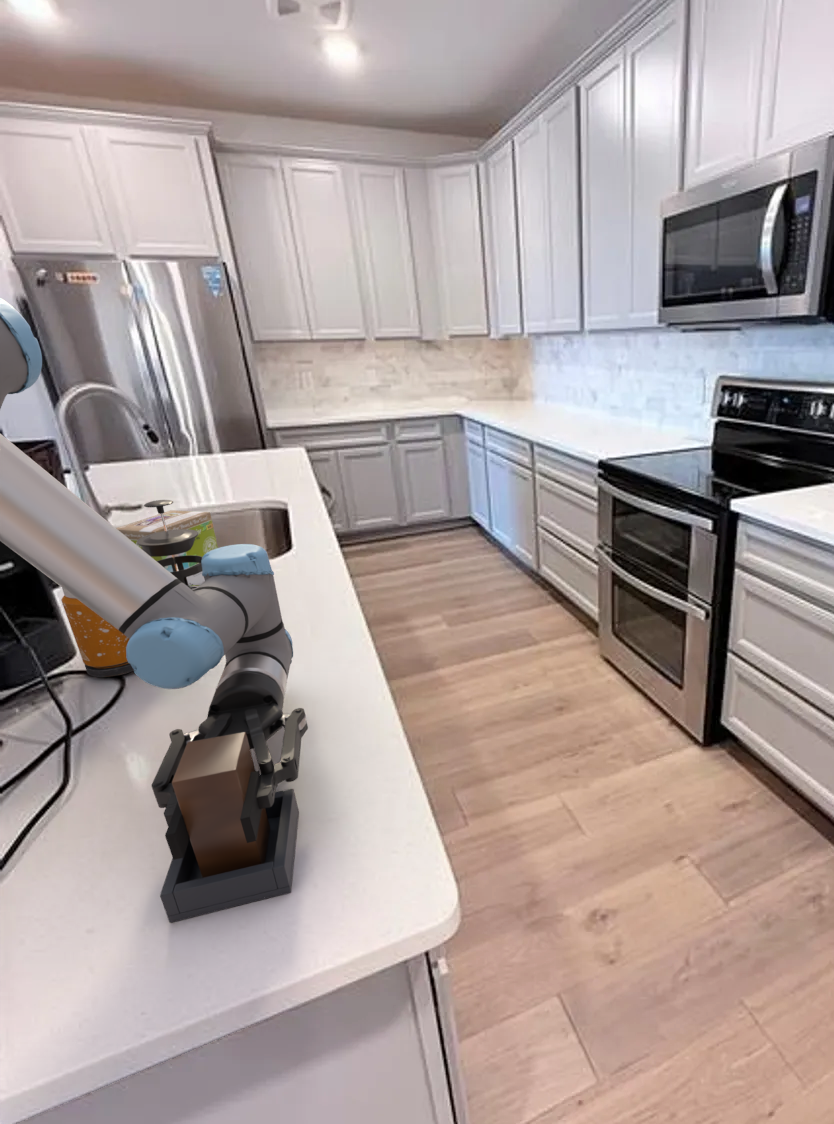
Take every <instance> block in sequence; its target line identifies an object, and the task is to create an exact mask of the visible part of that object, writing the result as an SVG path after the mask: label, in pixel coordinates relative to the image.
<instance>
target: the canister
mask: <svg viewBox="0 0 834 1124" xmlns="http://www.w3.org/2000/svg"><path fill="white" fill-rule="evenodd" d="M61 590H62V593H63V596H62V597H61V603H62V606H63V609H64V612H65V615H66V618H67V621H68V623H69V626H70V629H71V633H72V635H73V637H74V641H75V643H76V646H77V649H78V652H79V653H80V657H81V659H82V662H83V664H84V668H85V670H86V674H88V675H89V676H91V677H98V678H105V677H117V676H122V675H127V674H129V673H132V672H134V669H133V668H132V666H131V664H130V663H128V660H127V658H126V647H127V644H128V641H129V640H130V639H129V638H128V637H126V636H125V635H124V634H123V633H121V632H120V631H119V630H118V629H116V628H115V627H114V626H112V625H111V624H110V623H108V622H107V621H106V620H104V619H103V618H102V617H100V616H99V615H98V614H96V613H95V612H94V611H93V610H91V609H90V608H89V607H87V606H86V605H85V604H83V603H82V602H81V601H79V600H78V599H77V598H75V597H74V596H73V595H71V594H70V593H69V592H67V591H66V590H65V589H63V588H62V587H61Z"/></svg>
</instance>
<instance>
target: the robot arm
mask: <svg viewBox="0 0 834 1124" xmlns="http://www.w3.org/2000/svg"><path fill="white" fill-rule="evenodd" d="M42 355H43V354H42V349H41V347H40V344H39V341H38V338H37V337H35V336H34V334H33V331H32V329H31V326H30V324H29V322H28V321H27V320H26V319H25V317H24V316H23V315H22V314H21V313H20V312H19V311H18V310H17V309H16V308H15V307H14V306H12V304H10V303H9V302H7V301H6V300H5V299H3V298H2V297H0V410H1V409H2V406H3V405H4V402H5V399H6V397H7V395H14V394H20V393H23V392H24V391H26V390H27V389H30V388H31V387H32V386H33V385H34V384H35V383H36V382H37V381H38V379H39V377H40V375H41V372H42V369H43V356H42ZM116 528H117V527H115V525H113V524H112V523H110V522H109V521H108V520H107V519H105V518H104V517H103V516H102V515H101V514H99V513H98V512H97V511H96V510H95V509H93V508H92V507H91V506H89V505H88V504H87V503H86V502H85V501H83V500H82V499H81V498H80V497H79V496H77V495H76V494H75V493H74V492H72V490H70V489H69V488H68V487H66V486H65V485H64V484H63V483H62V482H61V481H59V480H58V479H57V478H55V477H54V476H53V475H51V474H50V473H49V472H48V471H47V470H45V469H44V468H43V467H42V466H41V465H40V464H38V463H37V462H36V461H34V459H32V458H31V457H30V456H29V455H28V454H26V453H25V452H23V450H21V449H20V448H19V447H17V446H16V445H15V444H14V443H13V442H11V441H10V440H9V439H8V438H6V437H5V436H4V435H3V434H2V433H0V542H1V543H2V544H4V545H5V546H6V547H8V548H9V549H10V550H12V551H13V552H14V553H16V554H17V555H18V556H19V557H21V558H22V559H23V560H25V561H26V562H27V563H28V564H30V565H31V566H33V567H34V568H36V569H37V570H38V571H39V572H41V573H42V574H43V575H45V576H46V577H47V578H49V579H50V580H52V581H53V582H54V583H55V584H57V585H58V586H59V587H61V589H62V588H63V589H65V590H66V591H67V592H69V593H70V594H71V595H73V596H74V597H75V598H77V599H78V600H79V601H81V602H82V603H83V604H85V605H86V606H87V607H89V608H90V609H91V610H93V611H94V612H95V613H96V614H98V615H99V616H100V617H102V618H103V619H104V620H106V621H107V622H108V623H110V624H111V625H112V626H114V627H115V628H116V629H118V630H119V631H120V632H121V633H123V634H124V635H125V636H126V637H128V638H129V639H130V640H129V641H128V644H127V647H126V658H127V660H128V663H130V664H131V666H132V668H133V669H134V671H133V673H134V674H135V675H136V676H137V677H138V678H139V679H140V680H142V681H143V682H145V683H147V684H149V685H151V686H153V687H156V688H159V689H164V690H165V689H166V690H178V689H183V688H186V687H188V686H191V685H193V684H194V683H196V682H197V681H199V680H201V678H202V677H204V676H205V675H206V674H207V673H208V672H209V671H211V670H212V669H215V668H216V667H217V666H218V664H220V663H221V660H222V659H223V658H224V656H225V665H224V668H223V670H222V673H221V675H220V678H219V679H218V683H217V686H216V688H215V691H214V693H213V697H212V700H211V702H210V703H209V704H210V705H209V707H208V710H207V715H206V719H205V720H204V721H203V722H201V723H200V724H199V726H198V729H194V730H191V731H189V732H184V731H183V730H182V728H177V729H173V730H172V731H170V732H169V738H170V744H169V747H168V749H167V751H166V753H165V755H164V757H163V759H162V761H161V763H160V766H159V768H158V770H157V773H156V775H155V777H154V778H153V781H152V783H151V789H152V792H153V794H154V797H155V801H156V804H157V805H158V808H159V809H164V810H163V816H164V819H165V822H166V824H167V825H166V826H167V829H166V830H165V831H166V832H165V834H164V837H165V839H166V843H167V845H168V848H169V851H170V854H171V857H172V858H173V860H175V859H180V858H183V857H184V854H185V851H186V848H187V845H188V841H189V835H188V831H187V828H186V825H185V822H184V819H183V816H182V813H181V810H180V807H179V804H178V801H177V798H176V794H175V791H174V788H173V785H172V781H173V778H174V776H175V773H176V771H177V768H178V765H179V763H180V760H181V758H182V755H183V753H184V750H185V748H186V745H187V743H188V742H192V741H197V740H203V739H208V738H214V737H219V736H225V735H231V734H236V733H242V732H246V735H247V739H248V743H249V747H250V750H253V751H254V754H255V758H256V761H257V766H258V769H259V770H256V771H254V772H251V774H250V778H249V783H248V787H247V792H246V796H245V801H244V804H243V809H242V813H241V818H240V820H241V824H242V827H243V831H244V834H245V838H246V841H247V843H249V842H254V841H256V840H257V834H258V829H259V823H260V817H261V812H262V809H264V808H269V807H271V806H272V805H273V803H274V798H275V792H277V791H276V790H277V787H278V786H279V784H280V783H281V782H284V781H285V782H286V783H292V782H294V781H296V780H297V779H298V778H299V771H300V770H299V769H300V757H301V747H302V746H301V745H302V738H303V736H304V735H305V733H306V732H307V730H308V729H309V726H308V722H307V721H308V720H307V717H306V713H305V709H304V708H303V707H298V708H295V709H294V710H293V711H291V713H290V714H289V713H287V714H286V713H284V712H283V709H284V703H285V702H284V701H285V696H286V690H287V686H288V679H289V673H290V668H291V664H292V663H293V660H292V659H293V658H294V648H293V640H292V639H293V638H292V636H291V634H290V632H289V631H288V630H287V629H286V628H285V624H284V621H283V618H282V616H283V615H282V612H281V607H280V601H279V597H278V593H277V591H278V590H277V587H276V582H275V577H274V575H275V572H274V571H273V569H272V565H271V562H270V558H269V555H268V552H267V550H266V549H264V547H262V546H260V545H257V544H253V543H252V544H251V543H236V544H229V545H224V546H220V547H218V548H216V549H214V550H211V551H209V552H207V553H206V554H205V555H204V556H203V557H202V560H201V561H202V562H201V564H202V571H203V572H202V576H204V579H205V582H203V583H202V584H201V585H199V586H198V587H197V588H195V589H194V590H191V589H190V588H189V587H188V586H186V585H185V584H184V583H182V582H181V581H180V580H179V579H177V578H176V577H175V576H174V575H172V574H171V573H170V572H169V571H168V570H166V569H165V568H164V567H163V566H161V565H160V564H159V563H158V562H157V561H155V560H154V559H153V558H152V557H151V556H149V555H148V554H147V553H146V552H144V551H143V550H142V549H141V548H140V547H138V546H137V545H136V544H135V543H133V542H132V541H131V540H130V539H129V538H127V537H126V536H125V535H124V534H122V533H121V532H120V531H119V530H118V529H116ZM63 589H62V590H63ZM281 729H283V736H282V746H281V754H280V761H279V762H276V763H274V762H273V758H272V756H271V752H270V750H269V746H268V743H267V741H268V740H269V739H270V738H271V737H273V736H274V735H275V734H276V733H278V732H279V731H281Z"/></svg>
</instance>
